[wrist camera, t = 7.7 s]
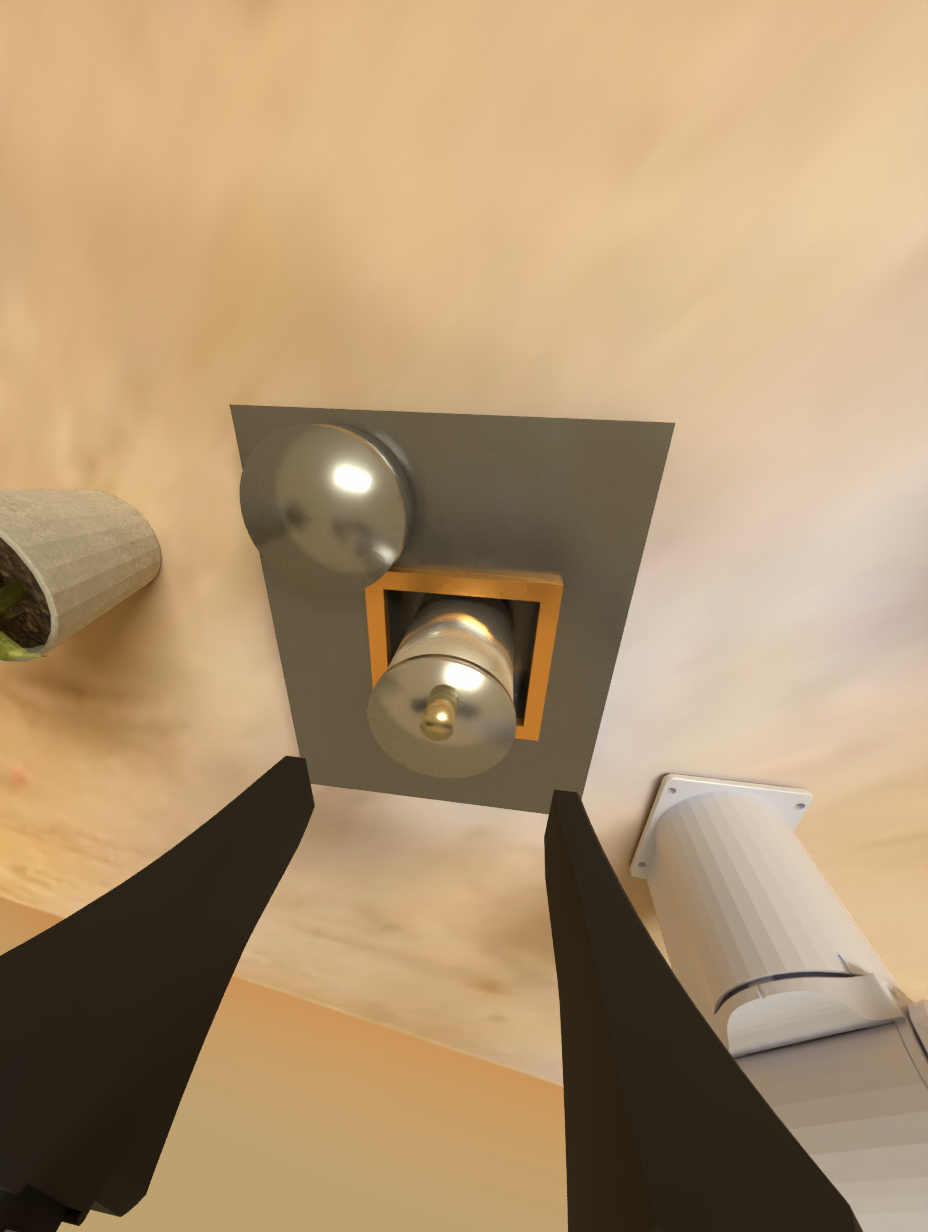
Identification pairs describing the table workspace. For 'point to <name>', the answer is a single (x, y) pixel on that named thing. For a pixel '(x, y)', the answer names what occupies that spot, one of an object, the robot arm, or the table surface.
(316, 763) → the grey block with opening
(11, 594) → the house plant
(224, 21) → the table surface
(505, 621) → the spout can
